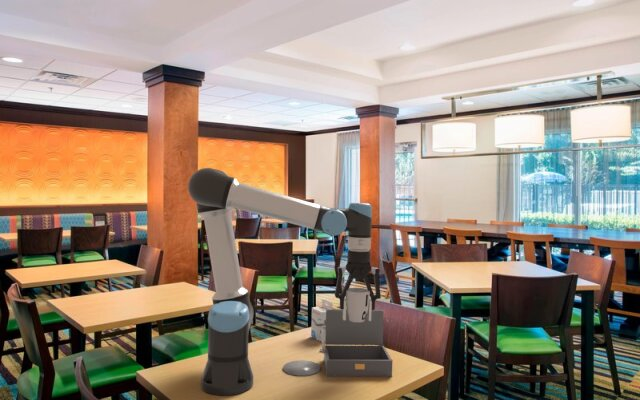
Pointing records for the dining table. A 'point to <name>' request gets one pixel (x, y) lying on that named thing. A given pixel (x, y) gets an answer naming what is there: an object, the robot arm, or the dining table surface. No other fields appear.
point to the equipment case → (355, 357)
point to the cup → (357, 304)
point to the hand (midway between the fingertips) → (356, 319)
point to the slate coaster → (301, 368)
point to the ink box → (319, 320)
